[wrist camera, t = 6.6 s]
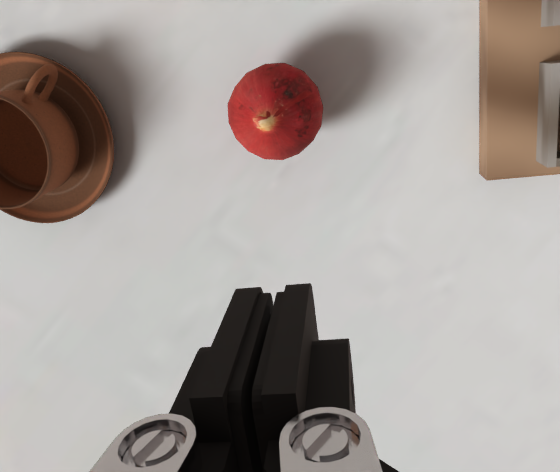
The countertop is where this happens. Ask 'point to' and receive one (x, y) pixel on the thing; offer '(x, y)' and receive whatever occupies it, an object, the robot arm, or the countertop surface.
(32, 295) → the countertop surface
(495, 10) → the button board
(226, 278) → the countertop surface
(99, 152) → the cup and saucer
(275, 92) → the red fruit
